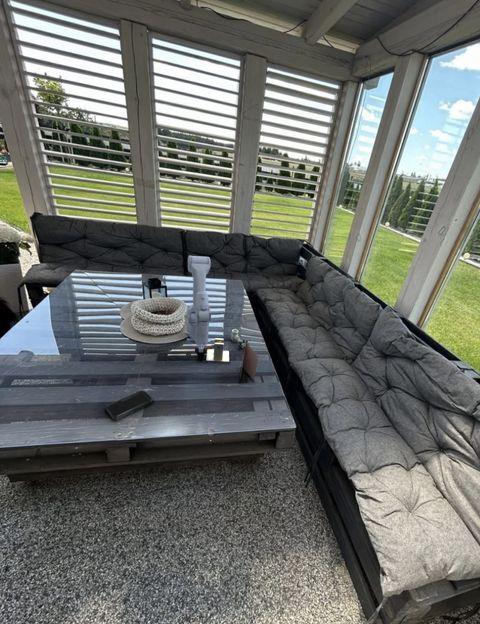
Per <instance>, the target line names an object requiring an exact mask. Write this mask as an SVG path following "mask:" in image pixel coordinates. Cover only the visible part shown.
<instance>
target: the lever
mask: <svg viewBox="0 0 480 624" xmlns="http://www.w3.org/2000/svg"><path fill="white" fill-rule="evenodd" d="M214 343H222V342H221V340H220V341H217V342H215V341H214ZM204 349H207V350H212V349H214V344H211V345H207V346H205V348H204Z"/></svg>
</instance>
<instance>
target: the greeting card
mask: <svg viewBox="0 0 480 624" xmlns="http://www.w3.org/2000/svg"><path fill="white" fill-rule="evenodd" d="M247 343H248V342H247ZM247 343H245V348H244V346H243V350H242V358H241V359H242V360H241V362H242V363H241V367H240V371H239V378H241V377H242V371H243V369H244V371H245V372H246V373H247V375H249V377H250V378H251V380H252V381H255V378H256V372H257V368H258V363H259V357H260V356H259V354H258V353H256V351H255V350H254V349H253V348H252V347H251V346H250V344H249V343H248V344H249V345H248V344H247Z"/></svg>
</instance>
